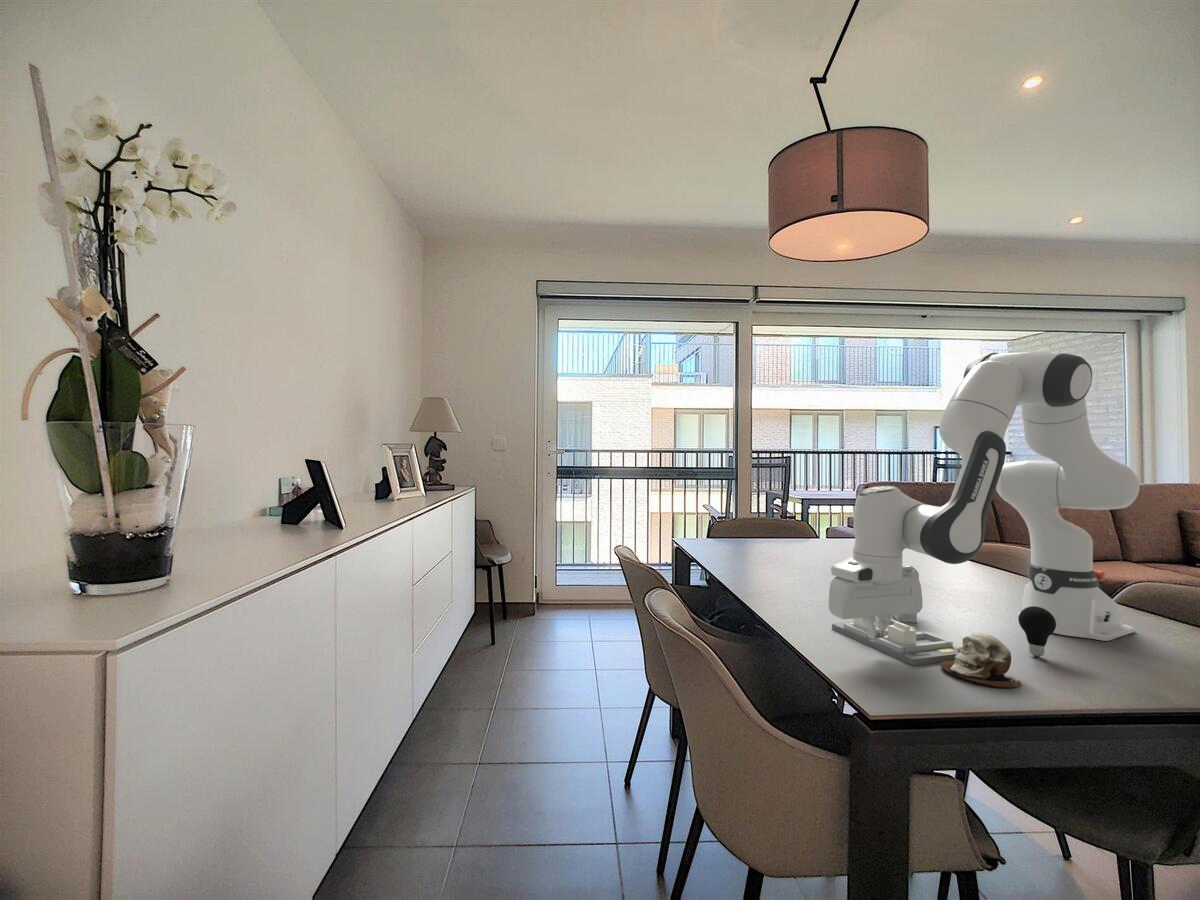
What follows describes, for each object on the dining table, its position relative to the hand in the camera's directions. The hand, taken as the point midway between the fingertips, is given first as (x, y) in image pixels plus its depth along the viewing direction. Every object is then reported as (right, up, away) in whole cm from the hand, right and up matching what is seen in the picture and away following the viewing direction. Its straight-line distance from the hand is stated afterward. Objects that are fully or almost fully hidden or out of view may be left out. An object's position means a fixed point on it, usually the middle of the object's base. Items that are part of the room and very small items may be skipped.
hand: (876, 637), depth 109 cm
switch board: (+8, -4, +7) cm, 11 cm away
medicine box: (+19, -4, +25) cm, 32 cm away
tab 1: (+3, -2, +11) cm, 11 cm away
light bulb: (+32, -4, 0) cm, 32 cm away
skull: (+14, -4, -9) cm, 17 cm away
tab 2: (+6, -2, +2) cm, 7 cm away
